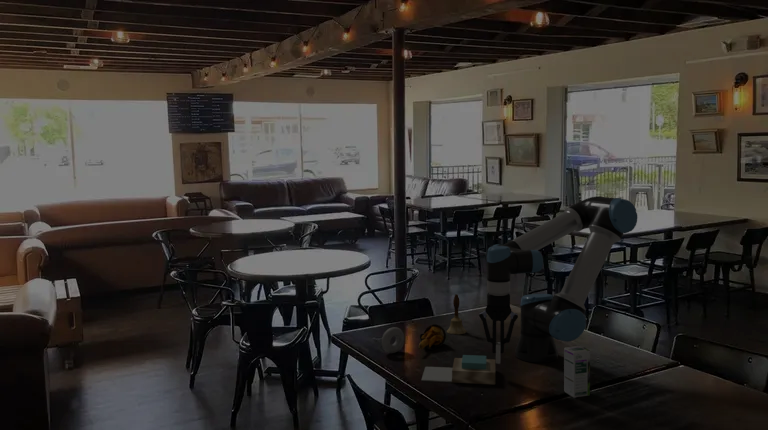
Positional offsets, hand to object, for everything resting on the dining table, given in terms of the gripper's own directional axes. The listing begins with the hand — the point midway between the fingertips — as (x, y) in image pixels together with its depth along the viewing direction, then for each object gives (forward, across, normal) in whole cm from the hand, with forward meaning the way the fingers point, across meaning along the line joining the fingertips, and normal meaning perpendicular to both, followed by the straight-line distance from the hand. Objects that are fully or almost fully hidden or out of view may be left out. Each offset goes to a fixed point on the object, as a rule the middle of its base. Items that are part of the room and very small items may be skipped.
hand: (498, 362), depth 211 cm
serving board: (+5, +8, 0) cm, 10 cm away
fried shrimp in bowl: (+6, +26, -28) cm, 39 cm away
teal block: (+1, +8, 0) cm, 8 cm away
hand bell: (+6, +17, -52) cm, 55 cm away
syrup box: (+6, -24, +11) cm, 27 cm away
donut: (+6, +39, -21) cm, 45 cm away
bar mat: (+5, +20, 0) cm, 21 cm away
